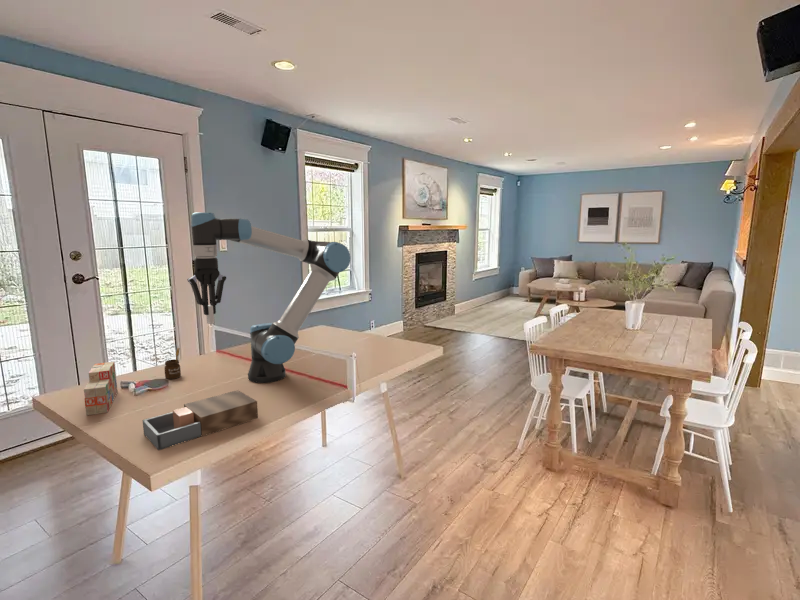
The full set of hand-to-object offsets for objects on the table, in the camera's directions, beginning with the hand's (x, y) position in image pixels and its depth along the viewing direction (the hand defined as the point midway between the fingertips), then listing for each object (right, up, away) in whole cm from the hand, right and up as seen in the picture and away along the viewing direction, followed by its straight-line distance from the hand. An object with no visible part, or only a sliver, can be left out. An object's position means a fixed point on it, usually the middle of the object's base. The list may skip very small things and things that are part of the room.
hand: (210, 323), depth 155 cm
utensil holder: (-28, -24, +28) cm, 46 cm away
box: (-1, -33, -24) cm, 40 cm away
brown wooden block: (+10, -31, -14) cm, 35 cm away
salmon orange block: (+3, -28, -21) cm, 35 cm away
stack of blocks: (-39, -29, 0) cm, 48 cm away
